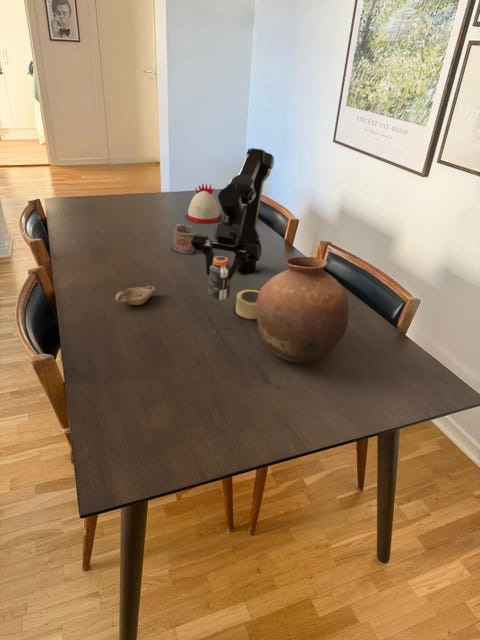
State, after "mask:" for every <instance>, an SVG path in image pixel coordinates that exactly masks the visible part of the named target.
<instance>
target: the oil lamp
mask: <svg viewBox="0 0 480 640" xmlns="http://www.w3.org/2000/svg"><path fill="white" fill-rule="evenodd" d="M155 292H156V288H155V287H154V286H153V285H146V286H145V287H141V286H138V287H130V288H129V287H128V288H126V289H124V291H119V292H117V293H116V295H115V301H116V302H117V303H118V304H125V303H127V304H128V305H131V306H139V305H143V304H145V303H146V302H147V301H148V300H149V299H150V298H151V296H152V295H153V294H154V293H155ZM122 295H123V296H122ZM121 296H122V299H120V297H121Z"/></svg>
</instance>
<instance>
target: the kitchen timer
mask: <svg viewBox="0 0 480 640" xmlns="http://www.w3.org/2000/svg"><path fill="white" fill-rule="evenodd" d="M214 190H215V187H213V188H212V184H210V185H209V187H208V184H207V183H205V185H204V183H202V185H201V186H200V185H198V189H197V188H196V187H195V192H196V193H195V195H194V196H193V197H192V199H191V201H190V204H189V207H188V210H187V218H188V220H190V221H192V222H195V223H199V224H200V223H201V224H211V223H215V222H218V221H219V220H220V209H219V203H218V202H219V201H217V199H216V198H215V197H214V195H213V192H214Z"/></svg>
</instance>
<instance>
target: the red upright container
mask: <svg viewBox="0 0 480 640" xmlns="http://www.w3.org/2000/svg"><path fill="white" fill-rule="evenodd" d="M193 235H195V232H194V231H193V227H192V226H190V225H186V224H185V223H182V224H179V223H176V228H174V229H173V251H176V252H179V253H181V254H188V255H192V254H195V253H194V252H195V251H194V250H195V249H194V247H193V245H192V244H191V239H192V236H193Z"/></svg>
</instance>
